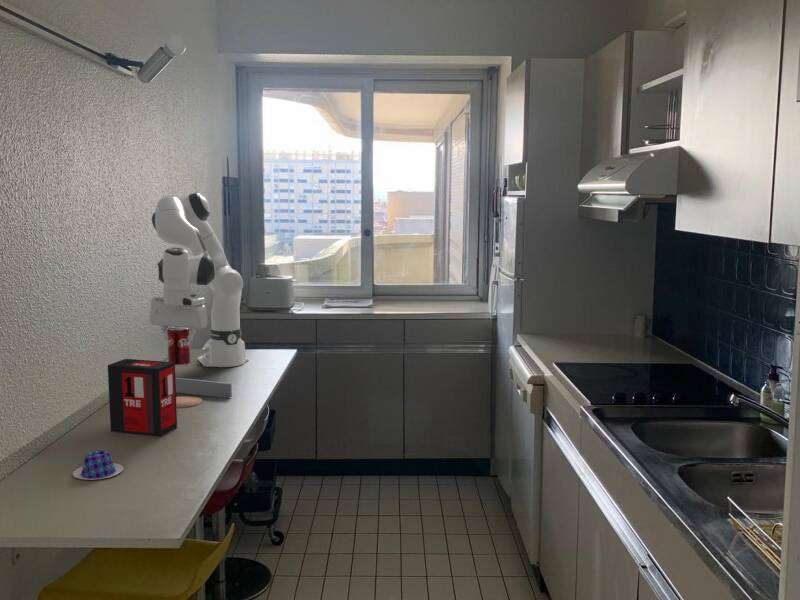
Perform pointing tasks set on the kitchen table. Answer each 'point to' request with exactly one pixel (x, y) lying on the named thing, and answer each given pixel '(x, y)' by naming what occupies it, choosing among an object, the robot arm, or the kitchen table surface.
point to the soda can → (178, 346)
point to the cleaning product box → (142, 397)
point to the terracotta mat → (187, 401)
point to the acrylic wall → (203, 387)
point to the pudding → (97, 466)
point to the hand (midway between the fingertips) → (178, 340)
